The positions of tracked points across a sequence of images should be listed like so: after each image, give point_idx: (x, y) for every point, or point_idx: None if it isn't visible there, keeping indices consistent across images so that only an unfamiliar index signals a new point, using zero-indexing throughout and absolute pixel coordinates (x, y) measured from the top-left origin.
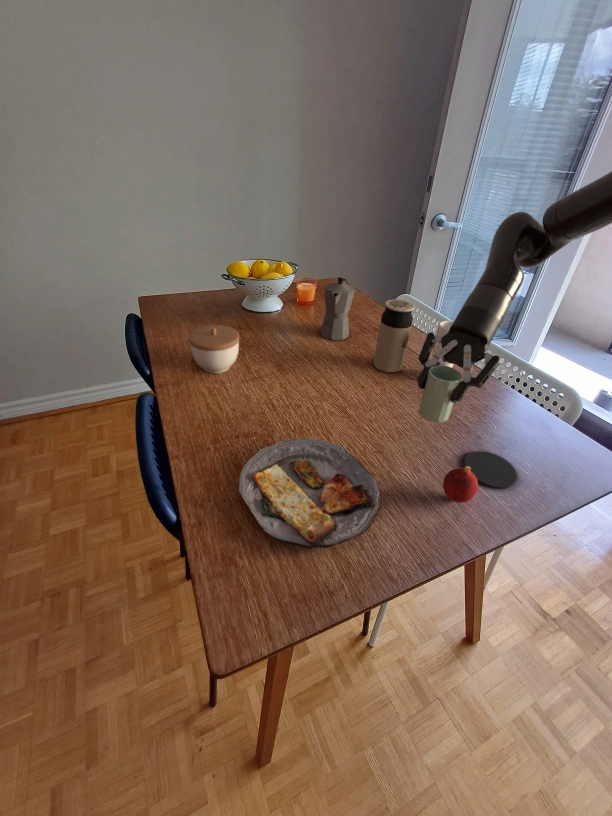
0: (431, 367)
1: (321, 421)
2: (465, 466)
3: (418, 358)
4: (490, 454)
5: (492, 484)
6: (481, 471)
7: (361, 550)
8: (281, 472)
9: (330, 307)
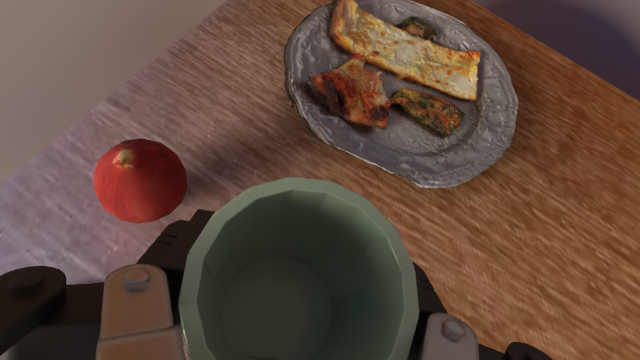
0: (416, 310)
1: (518, 271)
2: None
3: (544, 353)
4: None
5: None
6: None
7: (279, 39)
8: (457, 89)
9: None
